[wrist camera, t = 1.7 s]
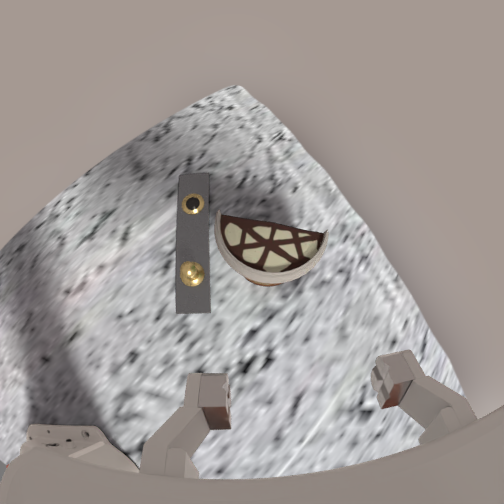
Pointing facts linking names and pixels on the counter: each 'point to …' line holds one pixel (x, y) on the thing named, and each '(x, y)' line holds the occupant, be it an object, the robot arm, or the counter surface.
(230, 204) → the counter surface
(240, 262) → the food container
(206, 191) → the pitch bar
